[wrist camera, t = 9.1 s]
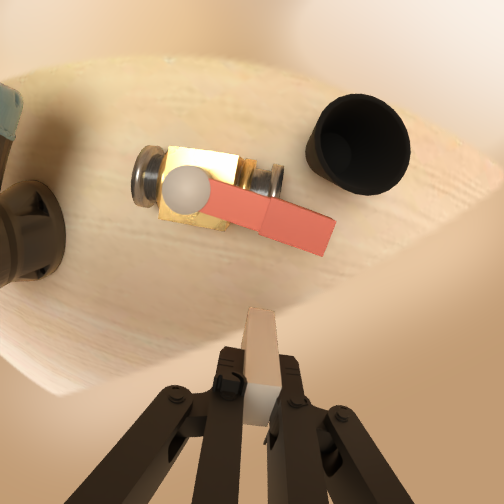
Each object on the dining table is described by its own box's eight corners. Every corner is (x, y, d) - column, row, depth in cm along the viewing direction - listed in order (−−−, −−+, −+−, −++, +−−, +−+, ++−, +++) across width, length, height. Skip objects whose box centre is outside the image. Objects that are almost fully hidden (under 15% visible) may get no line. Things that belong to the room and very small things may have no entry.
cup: (368, 179, 30) (420, 184, 18) (306, 194, 31) (331, 206, 19) (350, 115, 28) (394, 88, 16) (287, 129, 29) (300, 102, 17)
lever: (165, 203, 22) (156, 206, 20) (177, 160, 21) (169, 159, 19) (316, 254, 22) (320, 262, 21) (332, 213, 21) (338, 216, 20)
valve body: (152, 203, 32) (111, 215, 22) (161, 147, 30) (121, 139, 20) (269, 224, 32) (272, 245, 22) (281, 166, 30) (289, 163, 21)
